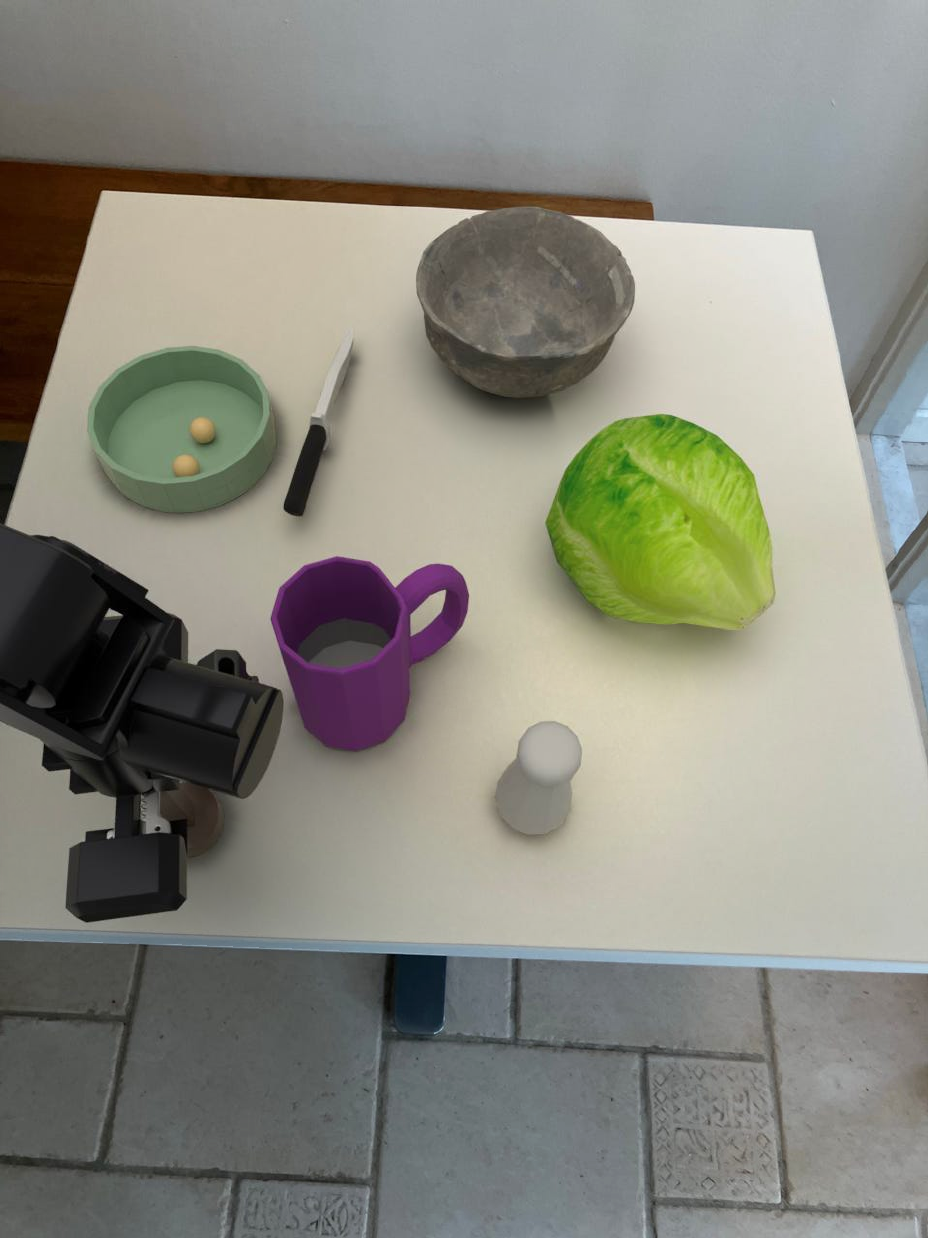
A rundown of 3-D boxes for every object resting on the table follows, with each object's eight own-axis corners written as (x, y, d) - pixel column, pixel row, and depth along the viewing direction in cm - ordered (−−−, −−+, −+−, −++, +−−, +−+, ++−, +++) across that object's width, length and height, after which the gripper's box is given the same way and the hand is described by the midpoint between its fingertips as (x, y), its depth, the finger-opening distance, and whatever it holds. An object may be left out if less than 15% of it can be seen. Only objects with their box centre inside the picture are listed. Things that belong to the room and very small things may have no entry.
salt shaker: (481, 824, 68) (493, 769, 56) (508, 759, 71) (524, 693, 59) (553, 854, 67) (579, 803, 56) (577, 786, 70) (607, 725, 58)
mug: (276, 688, 73) (243, 597, 59) (430, 594, 77) (432, 491, 64) (336, 776, 69) (316, 700, 56) (494, 672, 74) (509, 579, 61)
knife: (346, 338, 92) (343, 300, 87) (363, 340, 92) (360, 302, 87) (286, 536, 80) (277, 503, 75) (305, 539, 80) (298, 506, 75)
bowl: (467, 262, 98) (472, 180, 89) (642, 324, 94) (665, 244, 86) (381, 389, 89) (376, 310, 80) (572, 462, 85) (589, 388, 76)
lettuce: (657, 709, 75) (705, 656, 61) (503, 543, 81) (515, 459, 66) (790, 594, 79) (865, 518, 65) (635, 442, 84) (673, 342, 70)
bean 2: (192, 449, 83) (186, 432, 81) (192, 429, 85) (186, 412, 82) (218, 447, 84) (213, 430, 82) (218, 427, 85) (212, 410, 83)
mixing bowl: (98, 521, 80) (81, 490, 76) (107, 386, 87) (92, 352, 83) (280, 504, 81) (272, 474, 77) (273, 373, 89) (265, 340, 85)
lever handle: (153, 862, 66) (106, 821, 56) (155, 794, 68) (110, 744, 58) (224, 853, 66) (190, 810, 56) (223, 786, 69) (190, 734, 59)
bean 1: (175, 487, 81) (169, 471, 79) (176, 466, 82) (169, 450, 80) (202, 485, 82) (196, 468, 79) (202, 464, 83) (196, 448, 81)
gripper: (249, 864, 44) (291, 919, 58) (240, 551, 53) (278, 664, 67) (17, 894, 43) (115, 944, 57) (47, 569, 52) (126, 680, 65)
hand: (167, 797), depth 61 cm, fingers open, 6 cm apart
